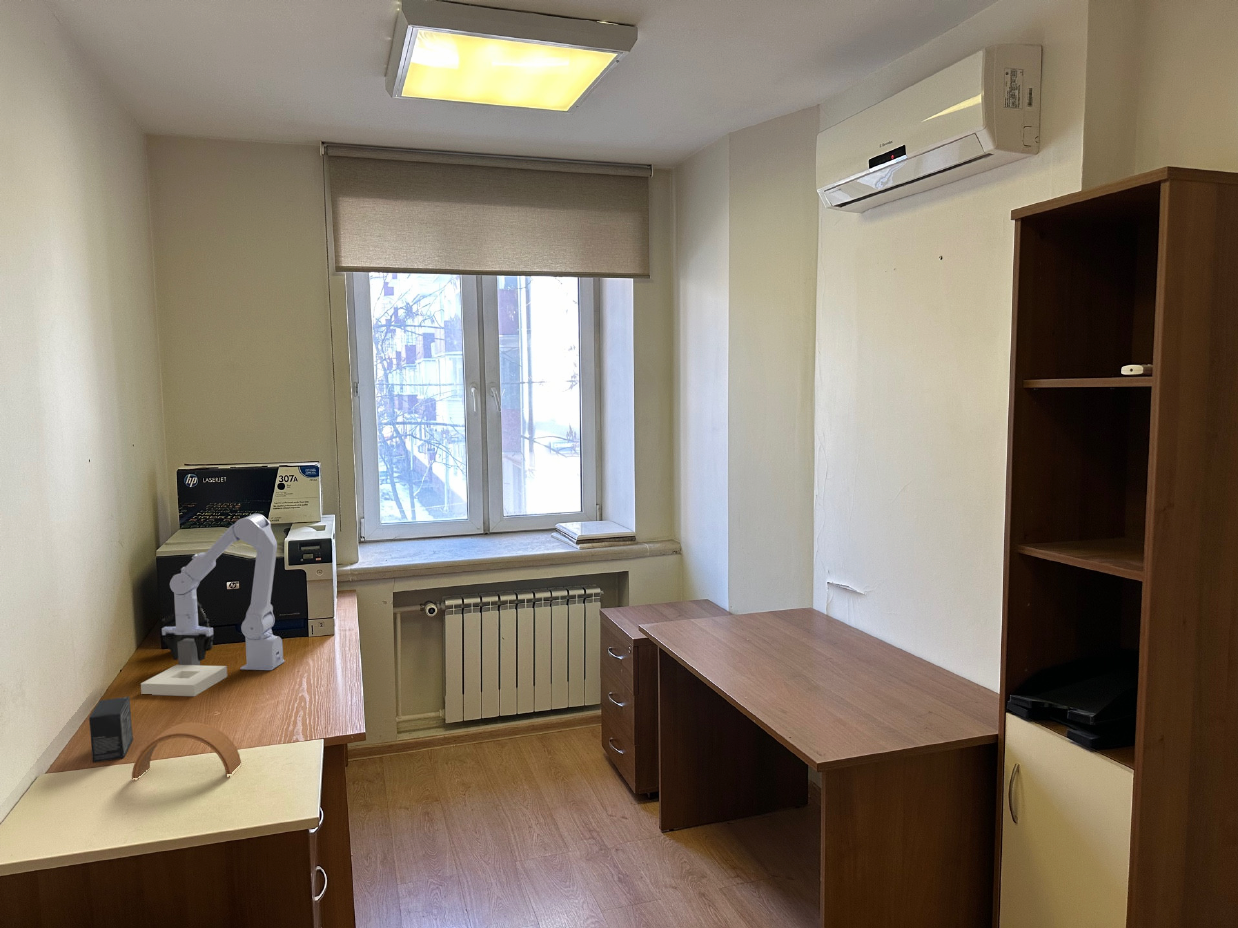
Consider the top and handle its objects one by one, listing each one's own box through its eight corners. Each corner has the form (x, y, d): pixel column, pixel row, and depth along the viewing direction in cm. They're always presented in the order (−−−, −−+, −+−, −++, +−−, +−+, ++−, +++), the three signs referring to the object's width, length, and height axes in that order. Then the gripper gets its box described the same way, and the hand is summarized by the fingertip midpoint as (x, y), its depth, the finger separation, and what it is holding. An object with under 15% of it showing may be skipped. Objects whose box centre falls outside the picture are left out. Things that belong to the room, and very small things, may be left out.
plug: (200, 665, 245) (198, 638, 244) (191, 669, 241) (190, 642, 240) (187, 664, 246) (185, 638, 245) (178, 669, 242) (177, 642, 241)
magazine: (222, 643, 260) (197, 602, 257) (181, 665, 257) (154, 624, 254) (224, 639, 264) (198, 599, 261) (183, 661, 261) (157, 621, 257)
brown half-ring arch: (230, 778, 174) (227, 732, 173) (131, 781, 173) (128, 734, 172) (241, 765, 180) (239, 720, 179) (146, 768, 179) (143, 723, 178)
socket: (227, 676, 235) (226, 666, 235) (194, 696, 220) (194, 685, 220) (177, 674, 237) (176, 664, 237) (141, 694, 222) (140, 683, 222)
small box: (101, 743, 191) (98, 699, 190) (133, 739, 194) (131, 695, 193) (90, 763, 181) (87, 716, 180) (124, 758, 184) (121, 712, 183)
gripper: (153, 616, 239) (156, 662, 240) (201, 617, 237) (204, 664, 238) (169, 609, 246) (172, 655, 247) (216, 610, 244) (218, 656, 245)
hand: (189, 659), depth 243 cm, fingers open, 7 cm apart
